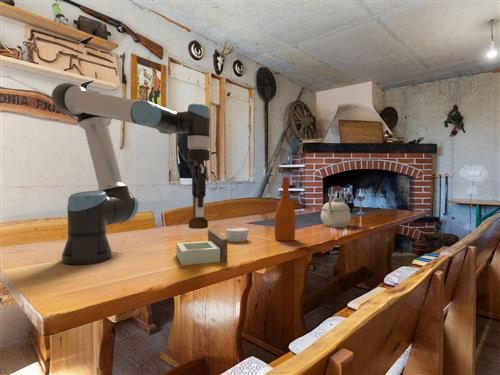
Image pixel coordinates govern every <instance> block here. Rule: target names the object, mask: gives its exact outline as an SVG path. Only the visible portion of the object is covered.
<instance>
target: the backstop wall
mask: <svg viewBox="0 0 500 375" xmlns="http://www.w3.org/2000/svg"><path fill="white" fill-rule="evenodd" d="M207 241H212V242H213V243H214V244H216V245H217V246H218V247H219V248H220V262H221V263H226V262H228V239H227V238H226V236H224V235H222V234H220V233H219V232H217V231H216V230H215V229H208V230H207Z"/></svg>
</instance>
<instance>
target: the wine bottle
mask: <svg viewBox="0 0 500 375" xmlns="http://www.w3.org/2000/svg"><path fill="white" fill-rule="evenodd" d="M281 186H282V194H281V198H280V200H279V203H278V206H277V207H276V210H275V214H274V239H275V240H276V241H280V242H292V241H294V240H295V237H296V213H295V209H294V205H293V203H292V201H291V198H290V193H289V189H290V188H289V187H290V177H289V176H283V177H282V184H281Z"/></svg>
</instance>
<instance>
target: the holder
mask: <svg viewBox="0 0 500 375" xmlns="http://www.w3.org/2000/svg"><path fill="white" fill-rule="evenodd" d="M175 247H176V248H175V249H176V257H177V260H178V261H179V263H180V265H181V266H188V265H198V264H199V265H200V264H210V263H211V264H212V263H219V262H221V261H220V248H219V247H218V246H217V245H216V244H214V243H213V242H212V241H208V240H205V241H190V242H176V246H175Z"/></svg>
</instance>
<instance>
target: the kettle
mask: <svg viewBox="0 0 500 375" xmlns="http://www.w3.org/2000/svg"><path fill="white" fill-rule="evenodd" d="M334 191H336V192H337V191H338V195H339V198H338V197H334ZM333 197H334V198H333ZM350 211H351V208H350V207H349V205H348V204H347V203H345V202H343V195H342V186H340V185H339V186H336V185H335V186H330V196H329V199H328V202H326V203H324V204H323V205H322V207H321V212H320V220H321V221H322V222H323V225H324V226H325V225H326V226H325V227H330V226H331V227H330V228H345V226H346V227H348V224H349V223H350V221H351V219H352V216H351V212H350Z"/></svg>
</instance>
